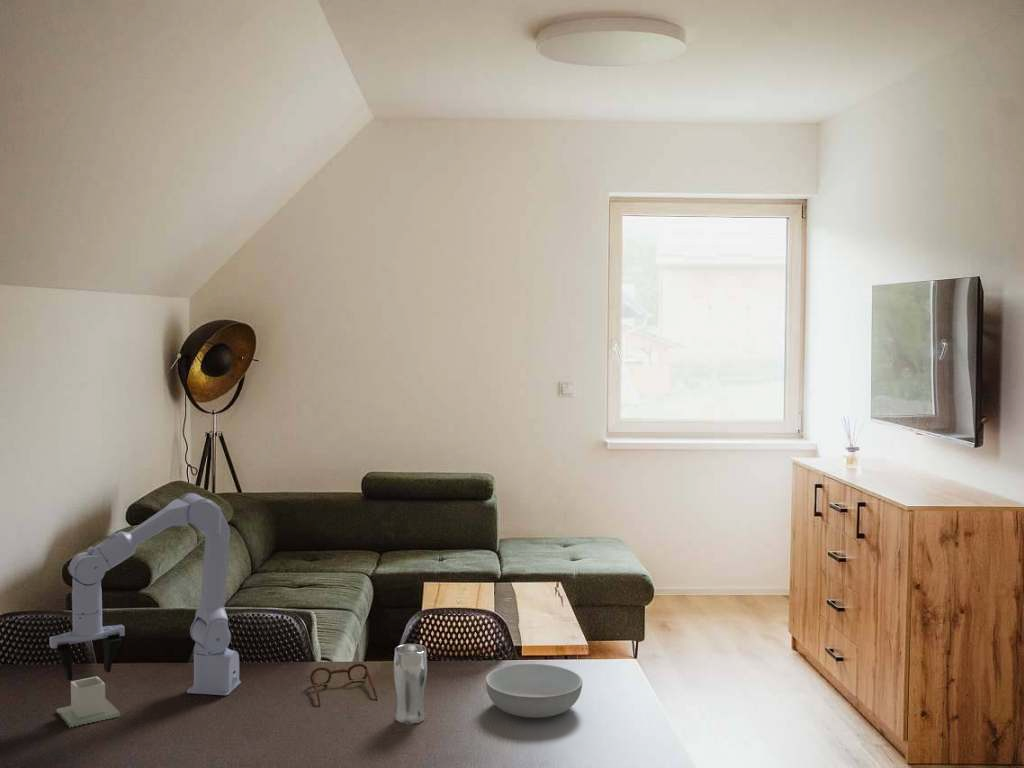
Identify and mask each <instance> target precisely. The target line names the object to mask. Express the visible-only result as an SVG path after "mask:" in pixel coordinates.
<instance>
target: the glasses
mask: <svg viewBox="0 0 1024 768" xmlns="http://www.w3.org/2000/svg"><path fill="white" fill-rule="evenodd" d="M357 667H362V668H363V669H364V670H365V672H364V676H362V678H360V679H365V680H366V679H368V682H369V684H370V686H371V690H372V691H373V695H374V698H375V697H376V698H378V694H377V692H376V689H375V685H374V683H373V681H372V678H371V675H370V672H369V669H368V666H367V665H365V664H364V663H360V662H359V663H354V664H352V665H351V666H350V667H348V669H346V668H343V669H340V668H339V669H334V670H332V671H331V670H330V669H329V668H328V667H324V666H320V667H317V668H314V669H313V670H312V671H311V673H310V683H311V684H312V686H313V687H314V691H315V693H316V696H317V702H318V706H319V705H321V700H320V695H319V690H318V688H317V687H318V686H316V685H318V684H319V683H316V680H315V676H314V675H315V674H316V673H317V672H319V671H325V672H327V673H328V677H327V680H326V681H324V682H322V683H320V684H325V683H328V684H329V683H330V682H331V679H332V675H333V674H334V675H335V674H340V673H341V674H342V673H347V678H348V681H350V680H355V679H353V678H352V677H351V671H352V670H353V669H354V668H357ZM321 706H322V705H321Z"/></svg>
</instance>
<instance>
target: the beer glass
mask: <svg viewBox="0 0 1024 768" xmlns="http://www.w3.org/2000/svg"><path fill="white" fill-rule="evenodd" d="M427 676H428V656H427V647H426V646H425V645H422V644H418V643H405V644H400V645H398V646H396V647H395V648H394V658H393V678H394V685H395V693H396V699H397V709H396V714H395V721H396V720H397V721H399V722H401V723H408V724H407V725H409V724H410V725H413V724H412V723H417V722H420V723H422V722H424V721H425V719H426V715H425V710H424V695H425V690H426V685H427V678H428V677H427ZM423 720H424V721H423ZM397 721H396V722H397ZM421 721H422V722H421ZM399 722H398V723H399ZM401 723H400V724H401ZM417 724H418V723H417Z"/></svg>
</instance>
